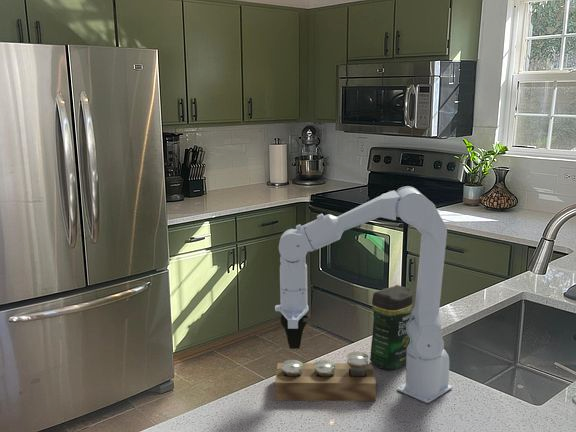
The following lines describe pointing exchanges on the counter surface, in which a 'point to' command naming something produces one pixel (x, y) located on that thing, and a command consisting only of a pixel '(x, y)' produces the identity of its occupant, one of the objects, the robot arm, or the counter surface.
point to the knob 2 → (357, 363)
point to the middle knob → (324, 368)
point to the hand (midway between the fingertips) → (294, 347)
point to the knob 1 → (292, 368)
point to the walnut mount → (326, 385)
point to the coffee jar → (390, 327)
